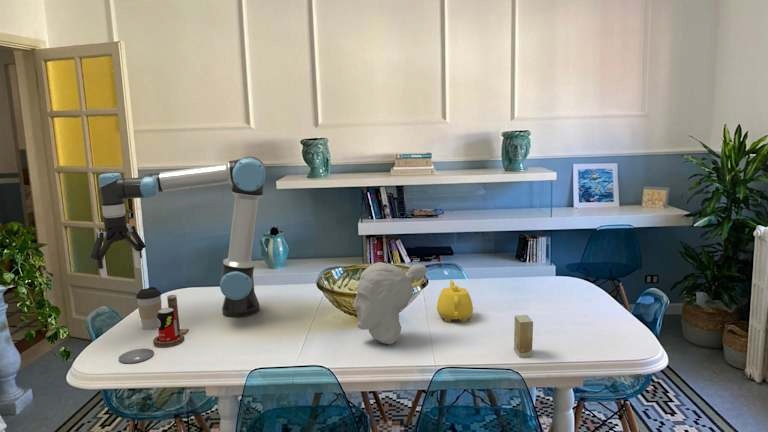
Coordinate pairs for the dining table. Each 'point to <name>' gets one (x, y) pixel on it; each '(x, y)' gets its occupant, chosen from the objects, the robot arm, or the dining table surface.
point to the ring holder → (181, 332)
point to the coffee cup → (149, 307)
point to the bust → (384, 298)
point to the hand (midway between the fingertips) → (121, 272)
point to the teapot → (454, 303)
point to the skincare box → (523, 336)
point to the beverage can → (167, 325)
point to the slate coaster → (136, 356)
